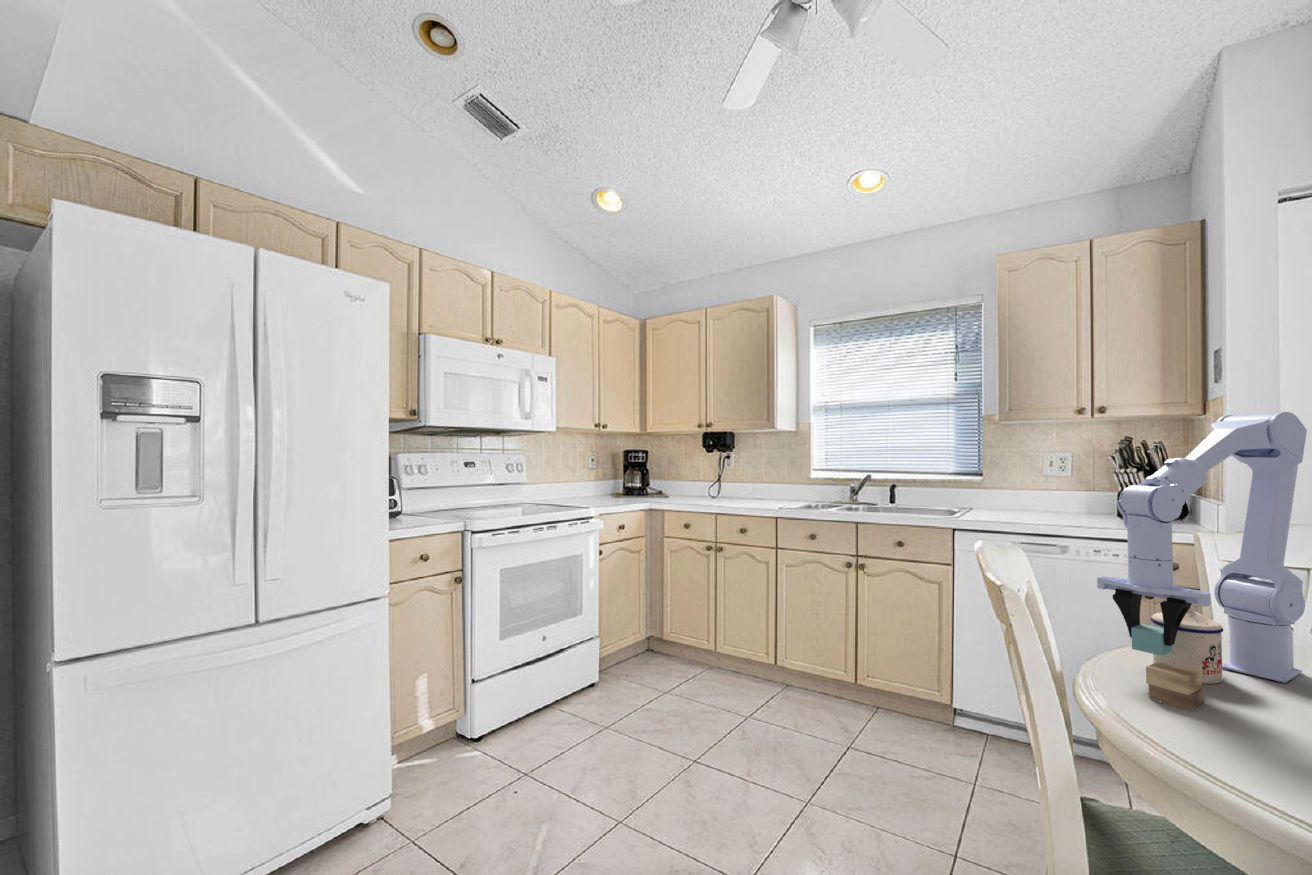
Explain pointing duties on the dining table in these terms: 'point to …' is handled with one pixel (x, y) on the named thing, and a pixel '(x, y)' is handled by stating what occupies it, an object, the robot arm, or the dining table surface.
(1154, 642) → the teal block
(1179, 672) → the oak slab upper
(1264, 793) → the dining table surface
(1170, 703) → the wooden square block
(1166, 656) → the ceramic jar
